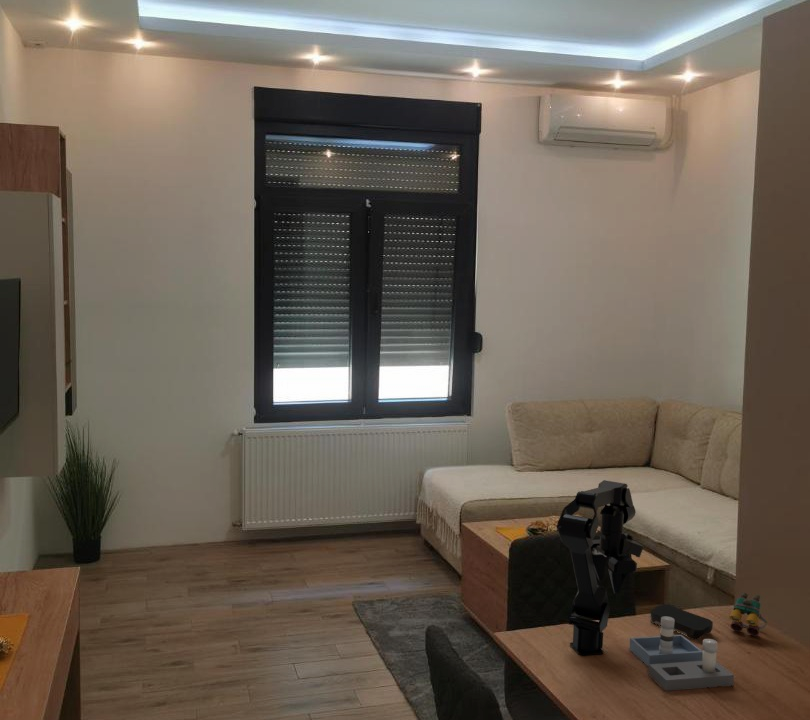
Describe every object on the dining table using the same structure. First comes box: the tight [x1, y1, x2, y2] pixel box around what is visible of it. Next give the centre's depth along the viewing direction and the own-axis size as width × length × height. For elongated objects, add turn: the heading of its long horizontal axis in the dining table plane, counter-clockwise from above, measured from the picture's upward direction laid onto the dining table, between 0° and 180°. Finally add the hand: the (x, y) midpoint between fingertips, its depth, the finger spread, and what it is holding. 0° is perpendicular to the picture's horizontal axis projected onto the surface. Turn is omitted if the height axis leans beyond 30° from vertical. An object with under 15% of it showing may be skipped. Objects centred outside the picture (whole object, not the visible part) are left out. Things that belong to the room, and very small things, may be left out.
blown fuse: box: [659, 616, 675, 654], centre depth 209 cm, size 3×3×9 cm
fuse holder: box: [648, 660, 735, 692], centre depth 197 cm, size 17×8×2 cm, turn 102°
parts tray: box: [628, 634, 703, 668], centre depth 210 cm, size 14×10×3 cm
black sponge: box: [649, 604, 714, 640], centre depth 228 cm, size 16×8×4 cm, turn 37°
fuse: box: [701, 638, 719, 673], centre depth 198 cm, size 3×3×9 cm
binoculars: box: [728, 591, 768, 637], centre depth 227 cm, size 9×9×10 cm
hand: (608, 587), depth 223 cm, fingers open, 9 cm apart
